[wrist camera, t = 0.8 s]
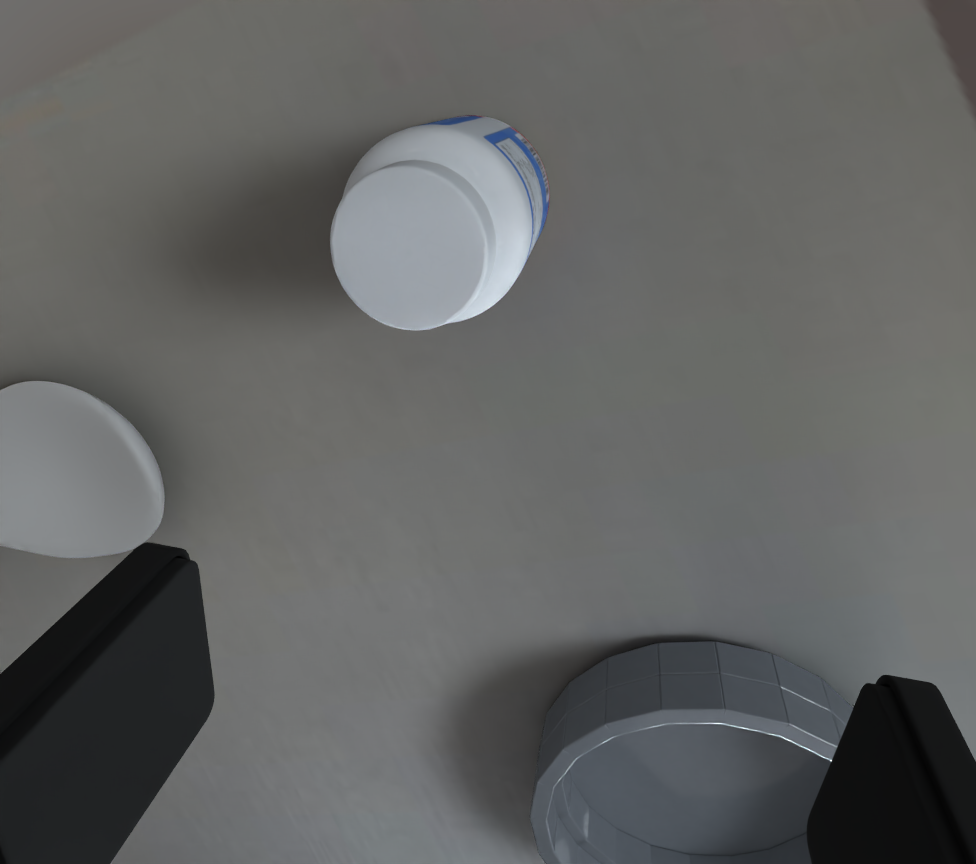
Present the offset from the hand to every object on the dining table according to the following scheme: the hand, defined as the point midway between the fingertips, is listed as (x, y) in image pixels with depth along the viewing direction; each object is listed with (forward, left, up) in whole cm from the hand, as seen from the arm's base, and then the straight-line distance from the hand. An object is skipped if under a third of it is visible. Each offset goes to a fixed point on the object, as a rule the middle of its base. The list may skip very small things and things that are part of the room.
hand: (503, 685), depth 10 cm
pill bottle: (0, -6, -19) cm, 20 cm away
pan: (+12, +20, -19) cm, 30 cm away
